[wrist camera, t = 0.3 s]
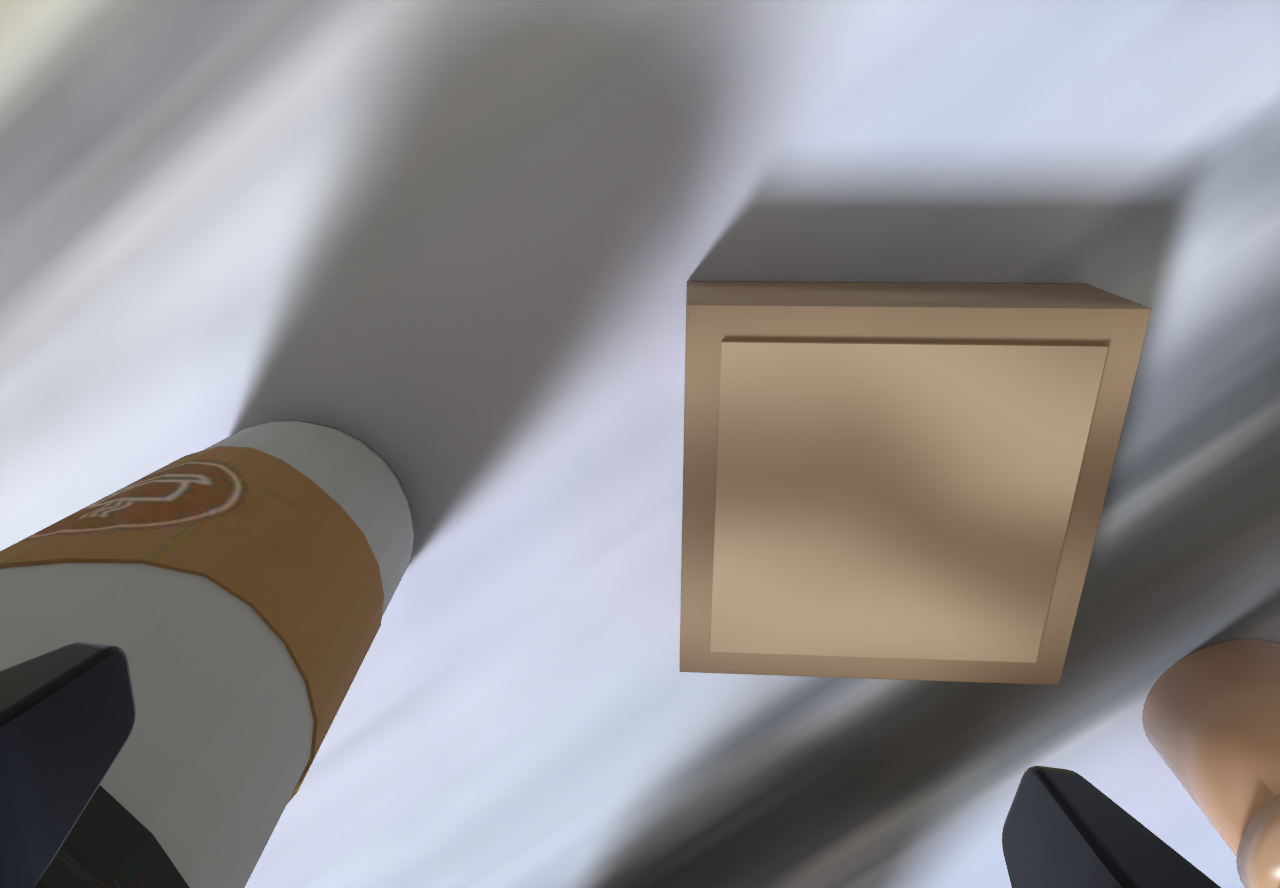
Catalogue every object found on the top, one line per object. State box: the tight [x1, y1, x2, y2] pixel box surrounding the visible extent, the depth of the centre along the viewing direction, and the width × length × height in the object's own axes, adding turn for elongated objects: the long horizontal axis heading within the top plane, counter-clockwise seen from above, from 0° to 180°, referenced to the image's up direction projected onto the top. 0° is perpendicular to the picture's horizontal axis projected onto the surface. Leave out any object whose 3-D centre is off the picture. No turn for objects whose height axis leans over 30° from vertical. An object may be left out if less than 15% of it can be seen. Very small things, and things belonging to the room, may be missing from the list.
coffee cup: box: [0, 421, 414, 888], centre depth 16 cm, size 8×8×15 cm
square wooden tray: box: [680, 281, 1152, 685], centre depth 20 cm, size 10×10×3 cm
